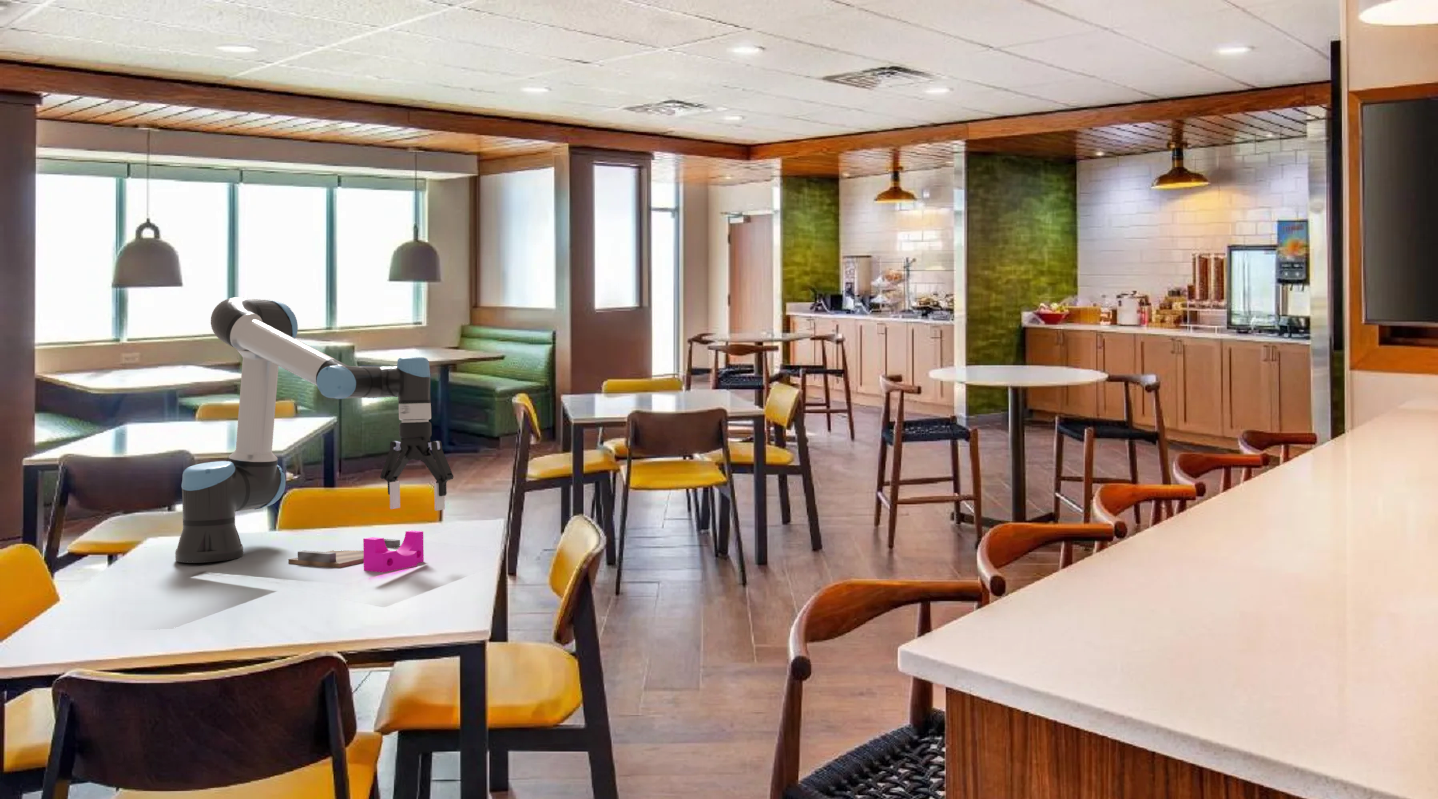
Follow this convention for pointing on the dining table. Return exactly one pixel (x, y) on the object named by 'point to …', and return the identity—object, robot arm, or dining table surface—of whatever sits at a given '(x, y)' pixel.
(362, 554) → the wooden serving tray
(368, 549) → the toy block
